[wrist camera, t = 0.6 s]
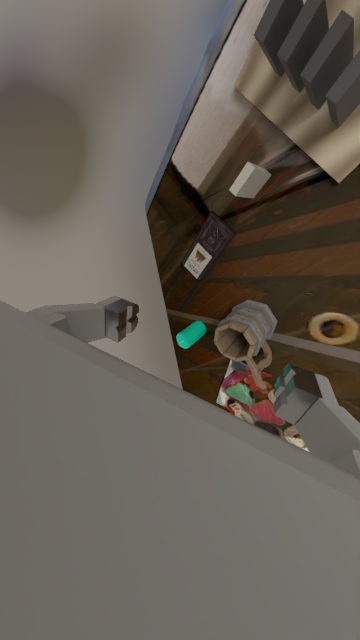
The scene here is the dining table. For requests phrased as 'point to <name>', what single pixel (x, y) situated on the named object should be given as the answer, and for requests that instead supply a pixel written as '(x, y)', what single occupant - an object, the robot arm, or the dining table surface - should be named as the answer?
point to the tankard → (247, 336)
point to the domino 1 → (250, 181)
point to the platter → (254, 403)
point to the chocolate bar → (207, 246)
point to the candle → (191, 334)
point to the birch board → (306, 106)
